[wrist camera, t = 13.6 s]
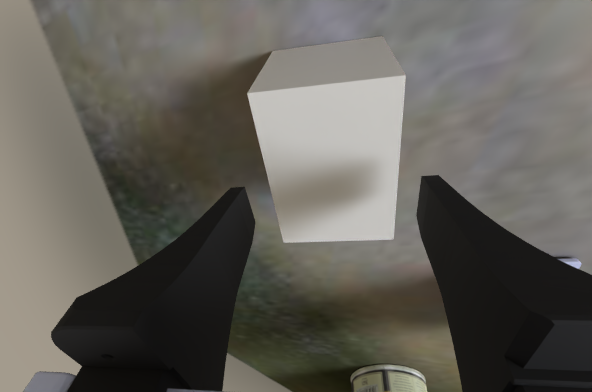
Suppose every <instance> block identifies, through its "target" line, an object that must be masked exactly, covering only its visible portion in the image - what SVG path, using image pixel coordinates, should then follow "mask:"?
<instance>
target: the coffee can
mask: <svg viewBox="0 0 592 392" xmlns="http://www.w3.org/2000/svg"><path fill="white" fill-rule="evenodd" d="M351 387H352V392H427V388H426V381H425V377H424V376H423V374H421V373H420V372H419V371H417V370H415V369H412V368H409V367H405V366H400V365H392V364H378V365H371V366H367V367H363V368H361V369H358V370H357V371H355V372H354V373H353V374H352V376H351Z"/></svg>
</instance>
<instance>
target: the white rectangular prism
mask: <svg viewBox="0 0 592 392" xmlns="http://www.w3.org/2000/svg"><path fill="white" fill-rule="evenodd" d="M405 77H406V75H405V73H404V72H403V70H402V68H401V66H400V65H399V63H398V61H397V60H396V58H395V56H394V55H393V53H392V51H391V49H390V48H389V46H388V44H387V43H386V41H385V39H384V37H383V36H379V37H372V38H364V39H357V40H350V41H342V42H335V43H328V44H320V45H313V46H306V47H298V48H291V49H283V50H276V51H272V53H271V55H270V56H269V58H268V60H267V61H266V63H265V65H264V66H263V68H262V70H261V71H260V73H259V74H258V76H257V78H256V79H255V81H254V83H253V84H252V86H251V88H250V89H249V91H248V93H247V95H248V99H249V103H250V107H251V111H252V115H253V120H254V124H255V128H256V132H257V136H258V140H259V144H260V148H261V152H262V156H263V160H264V164H265V168H266V172H267V176H268V181H269V185H270V189H271V193H272V197H273V201H274V205H275V209H276V213H277V217H278V221H279V225H280V229H281V233H282V238H283V242H284V243H290V242H324V241H358V240H392V239H394V225H395V212H396V199H397V185H398V172H399V158H400V145H401V131H402V118H403V104H404V91H405Z"/></svg>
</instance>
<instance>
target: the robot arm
mask: <svg viewBox="0 0 592 392" xmlns="http://www.w3.org/2000/svg"><path fill="white" fill-rule="evenodd" d="M416 216H417V220H418V225H419V230H420V234H421V238H422V241H423V244H424V247H425V250H426V252H427V255H428V258H429V261H430V263H431V266H432V269H433V272H434V274H435V277H436V280H437V283H438V285H439V288H440V292H441V295H442V298H443V302H444V307H445V311H446V315H447V319H448V323H449V328H450V332H451V336H452V341H453V345H454V350H455V355H456V360H457V365H458V369H459V374H460V380H461V385H462V390H463V392H592V275H590V274H588V273H586V272H584V271H582V270H579V268H580V266H581V262H580V261H579V260H578V259H556V258H554V257H553V256H551V255H549V254H547V253H545V252H543V251H541V250H539V249H537V248H536V247H534V246H532V245H530V244H529V243H527V242H525V241H523V240H522V239H520V238H519V237H517V236H515V235H514V234H512V233H511V232H509V231H507V230H506V229H504V228H503V227H501V226H500V225H498V224H497V223H496V222H494V221H493V220H492V219H490V218H489V217H487V216H486V215H485V214H483V213H482V212H481V211H480V210H478V209H477V208H476V207H474V206H473V205H472V204H471V203H470V202H468V201H467V200H466V199H465V198H464V197H462V196H461V195H460V194H459V193H458V192H457V191H456V190H454V189H453V188H452V187H451V186H450V185H449V184H448V183H447V182H445V181H444V180H443V179H442V178H441V177H440V176H439V175H434V176H422V178H421V185H420V193H419V200H418V208H417V215H416ZM254 228H255V219H254V216H253V213H252V209H251V206H250V203H249V200H248V196H247V193H246V190H245V187H236V188H230V189H229V190H228V191H227V192H226V193H225V194H224V195H223V196H222V197H221V198H220V199H219V200H218V201H217V202H216V203H215V204H214V205H213V206H212V207H211V208H210V209H209V210H208V211H207V212H206V213H205V214H204V215H203V216H202V217H201V218H200V219H199V220H198V221H197V222H196V223H194V224H193V225H192V226H191V227H190V228H189V229H188V230H187V231H186V232H184V233H183V234H182V235H181V236H180V237H178V238H177V239H176V240H175V241H173V242H172V243H171V244H169V245H168V246H167V247H165V248H164V249H163V250H161V251H160V252H158V253H157V254H155V255H154V256H152V257H151V258H149V259H148V260H146V261H145V262H143V263H142V264H140V265H139V266H137V267H135V268H134V269H132V270H130V271H129V272H127V273H125V274H123V275H122V276H120V277H118V278H116V279H114V280H112V281H110V282H108V283H107V284H105V285H102V286H100V287H98V288H96V289H95V290H92V291H90V292H88V293H86V294H84V295H81V296H79V297H77V298H76V299H75V301H74V302H73V304H72V305H71V306H70V308H69V309H68V310H67V312H66V313H65V314H64V316H63V317H62V318H61V320H60V321H59V323H58V324H57V325H56V327H55V328H54V329H53V331H52V332H51V338H52V340H53V342H54V344H55V345H56V346H57V347H58V348H59V349H60V350H62V351H63V352H64V353H66V354H67V355H68V356H70V357H71V358H72V359H73V360H75V361H76V362H77V363H79V364H80V365H81V366H82V368H81V369H80V371H79V372H78V374H77V376H75V375H73V374H70V373H62V372H41V371H40V372H37V373H36V374H35V375H34V377H33V378H32V379H31V381H30V382H29V384H28V385H27V386H26V388H25V389H24V391H23V392H222V388H223V379H224V370H225V362H226V355H227V348H228V341H229V334H230V328H231V322H232V317H233V311H234V306H235V301H236V296H237V292H238V288H239V285H240V281H241V278H242V275H243V271H244V268H245V265H246V262H247V258H248V255H249V252H250V248H251V245H252V241H253V235H254Z"/></svg>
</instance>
